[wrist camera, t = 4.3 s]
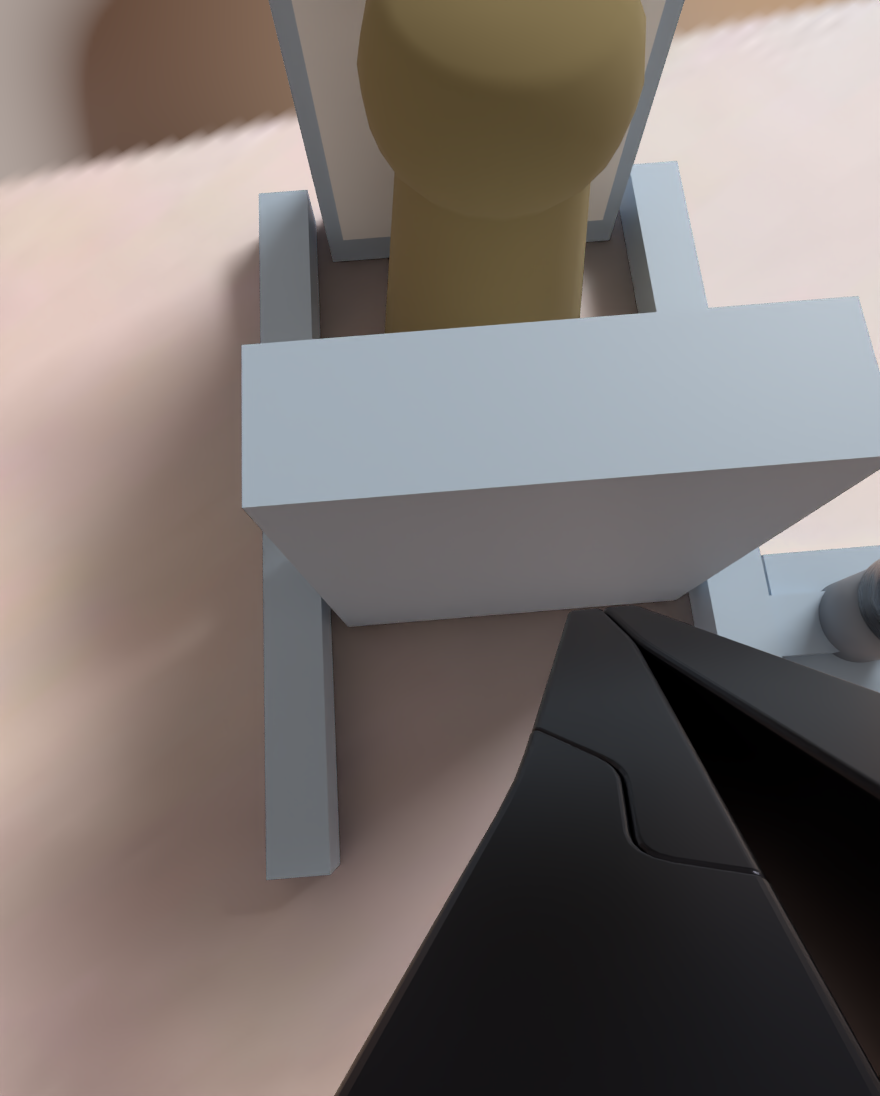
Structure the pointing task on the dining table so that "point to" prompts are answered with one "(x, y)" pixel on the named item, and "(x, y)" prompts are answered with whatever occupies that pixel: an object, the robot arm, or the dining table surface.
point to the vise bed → (293, 314)
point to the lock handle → (870, 597)
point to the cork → (495, 148)
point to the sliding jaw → (552, 454)
